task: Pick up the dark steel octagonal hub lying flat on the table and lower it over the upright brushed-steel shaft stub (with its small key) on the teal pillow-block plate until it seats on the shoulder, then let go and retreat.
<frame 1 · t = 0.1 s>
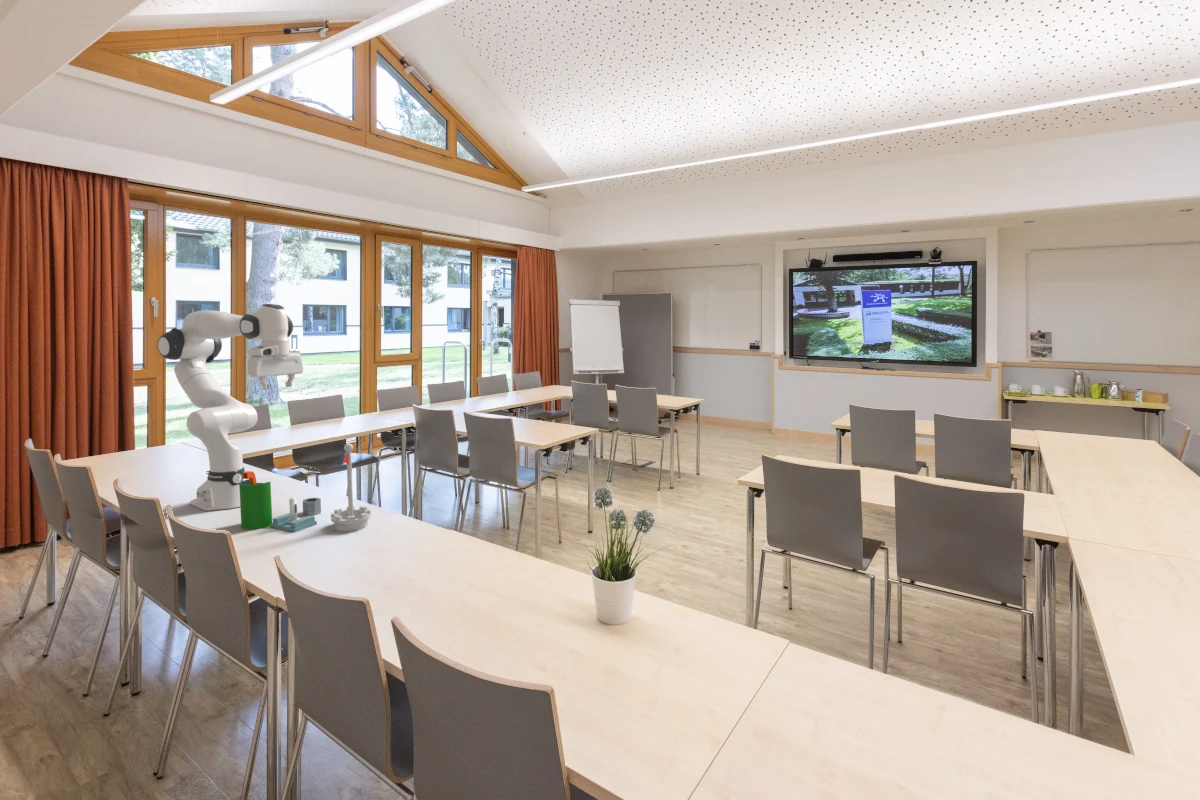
hand: (277, 388, 223), 48 cm above the table, fingers open, 8 cm apart
shaft block: (294, 525, 219), on the table
green cup: (256, 525, 219), on the table
hub: (312, 512, 234), on the table
flag stand: (351, 526, 220), on the table
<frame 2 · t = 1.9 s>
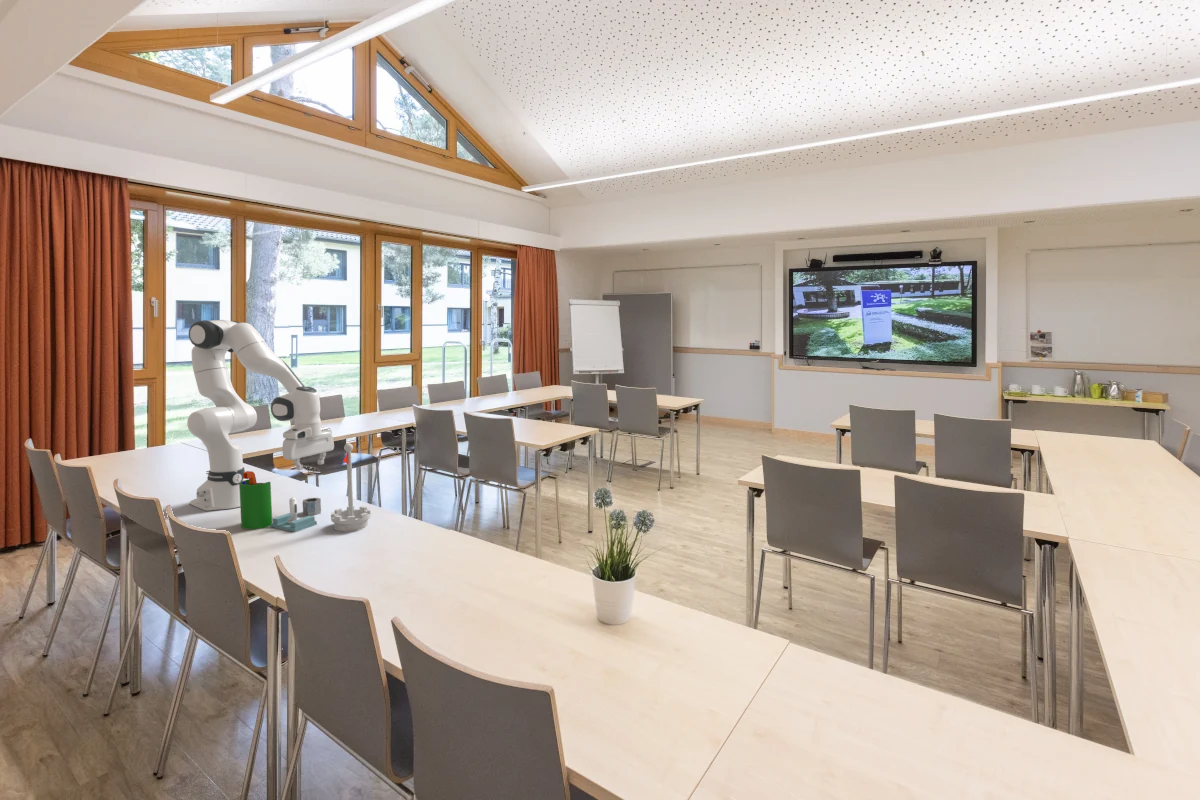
hand: (310, 466, 231), 18 cm above the table, fingers open, 8 cm apart
nothing on the table moved.
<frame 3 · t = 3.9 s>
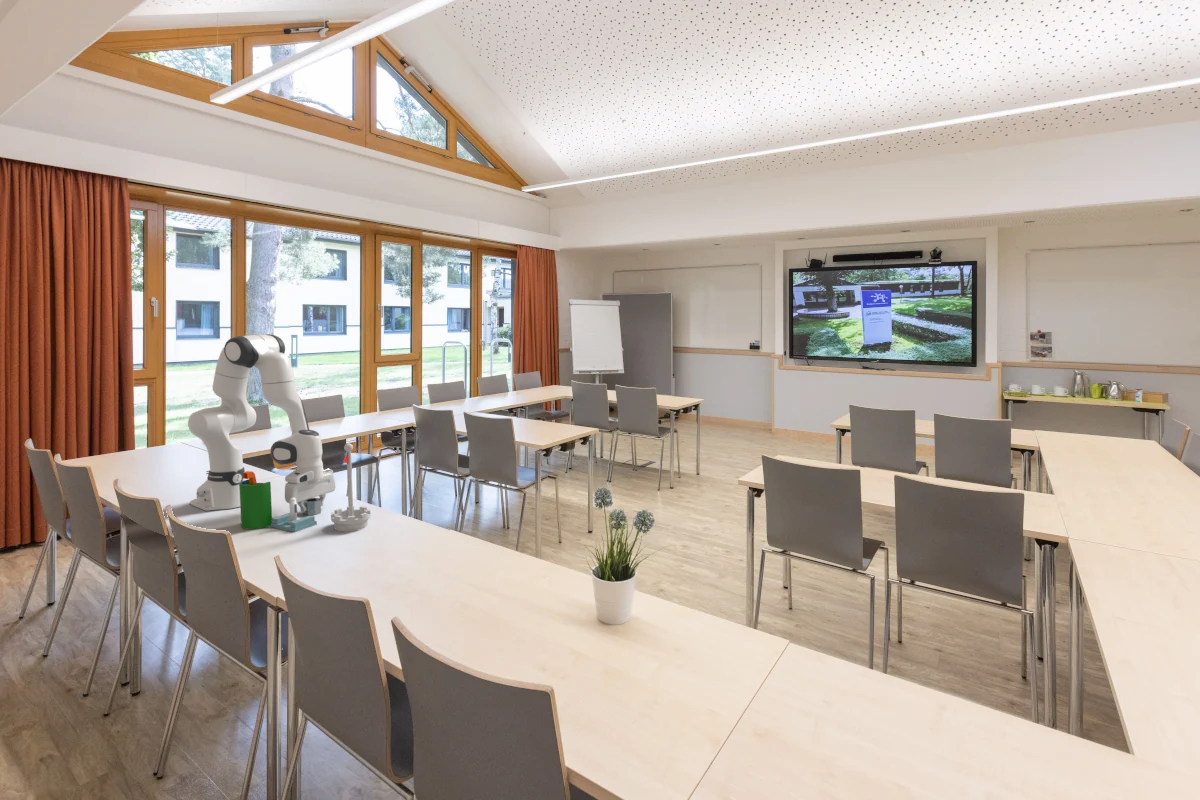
hand: (312, 508, 233), 2 cm above the table, fingers closed on hub, 6 cm apart
hub: (312, 512, 234), on the table, touching gripper
everything else where it was.
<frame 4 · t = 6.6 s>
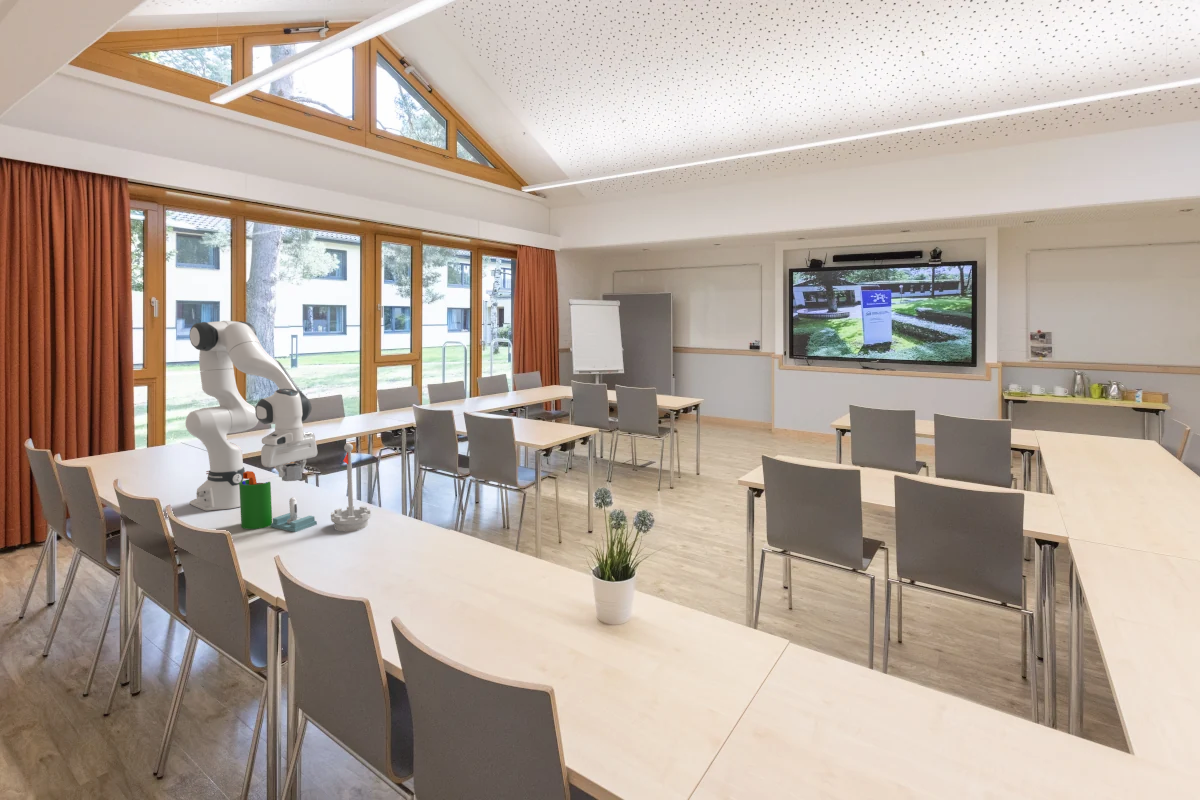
hand: (291, 474, 217), 19 cm above the table, fingers closed on hub, 6 cm apart
hub: (292, 478, 217), point 17 cm above the table, touching gripper
everything else where it was.
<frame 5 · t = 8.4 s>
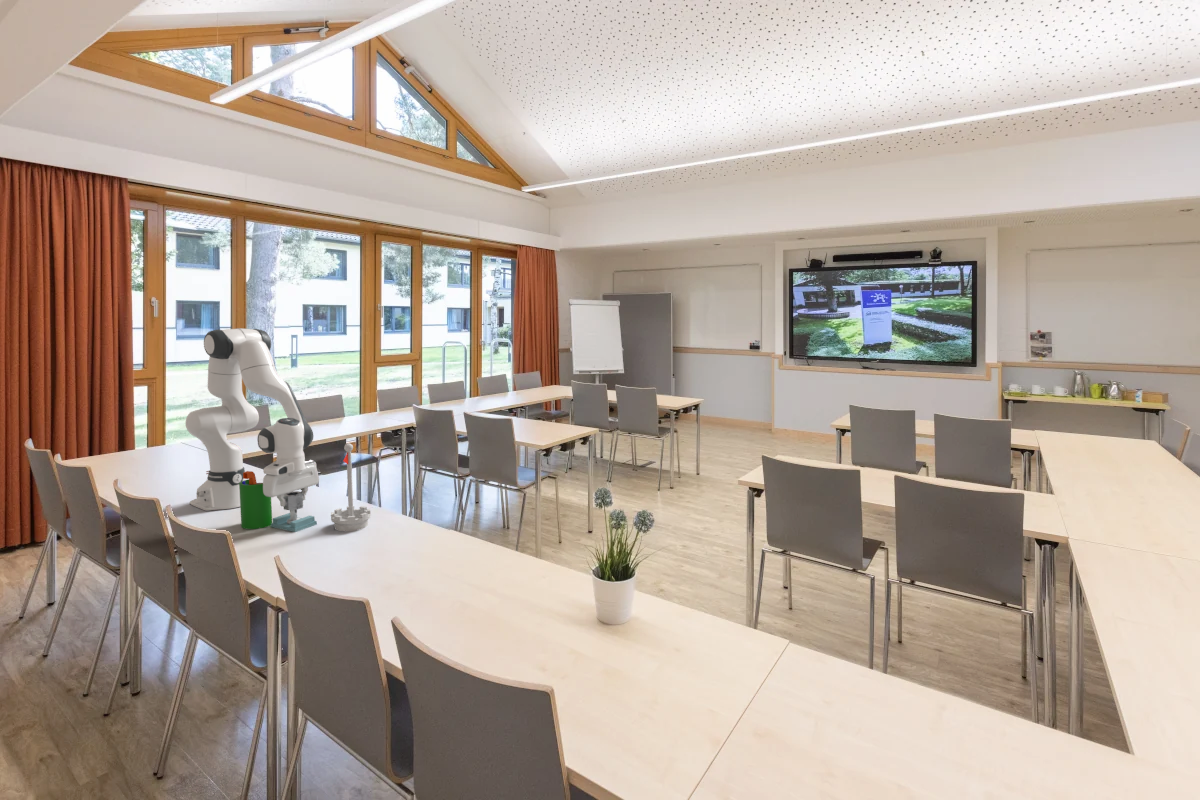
hand: (293, 503, 218), 8 cm above the table, fingers closed on hub, 6 cm apart
hub: (293, 507, 218), point 7 cm above the table, touching gripper
everything else where it was.
when the fingers open (5 cm above the table, at t = 9.6 s): hub drops 1 cm, resting on shaft block.
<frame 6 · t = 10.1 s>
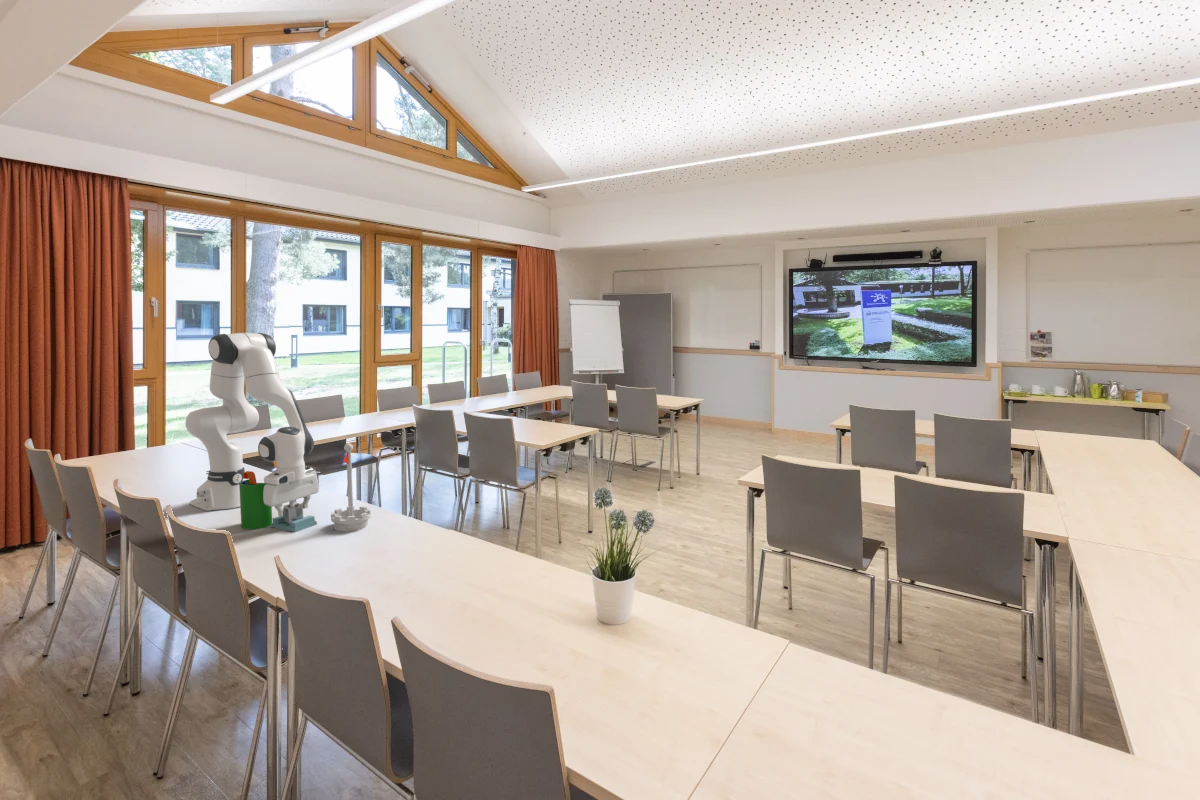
hand: (293, 511, 219), 5 cm above the table, fingers open, 8 cm apart
hub: (293, 519, 219), point 2 cm above the table, touching shaft block
everything else where it was.
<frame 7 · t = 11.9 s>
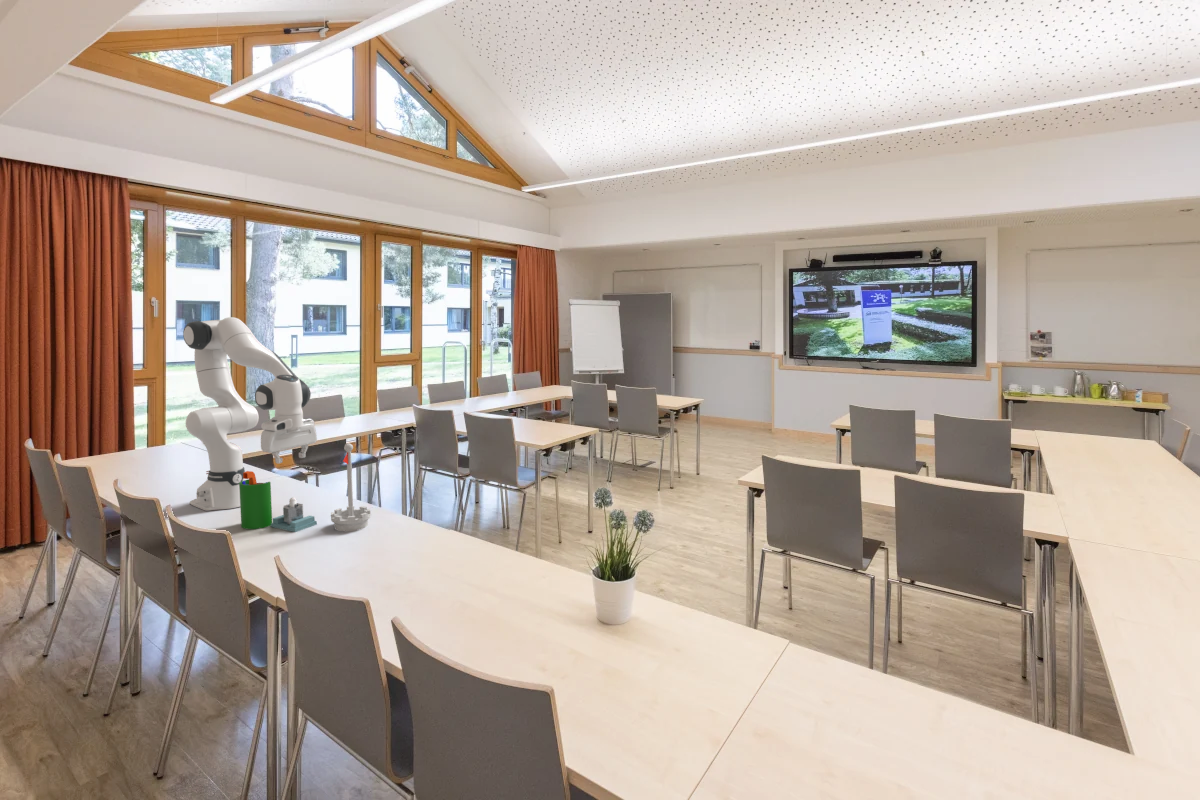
hand: (290, 460, 218), 23 cm above the table, fingers open, 8 cm apart
nothing on the table moved.
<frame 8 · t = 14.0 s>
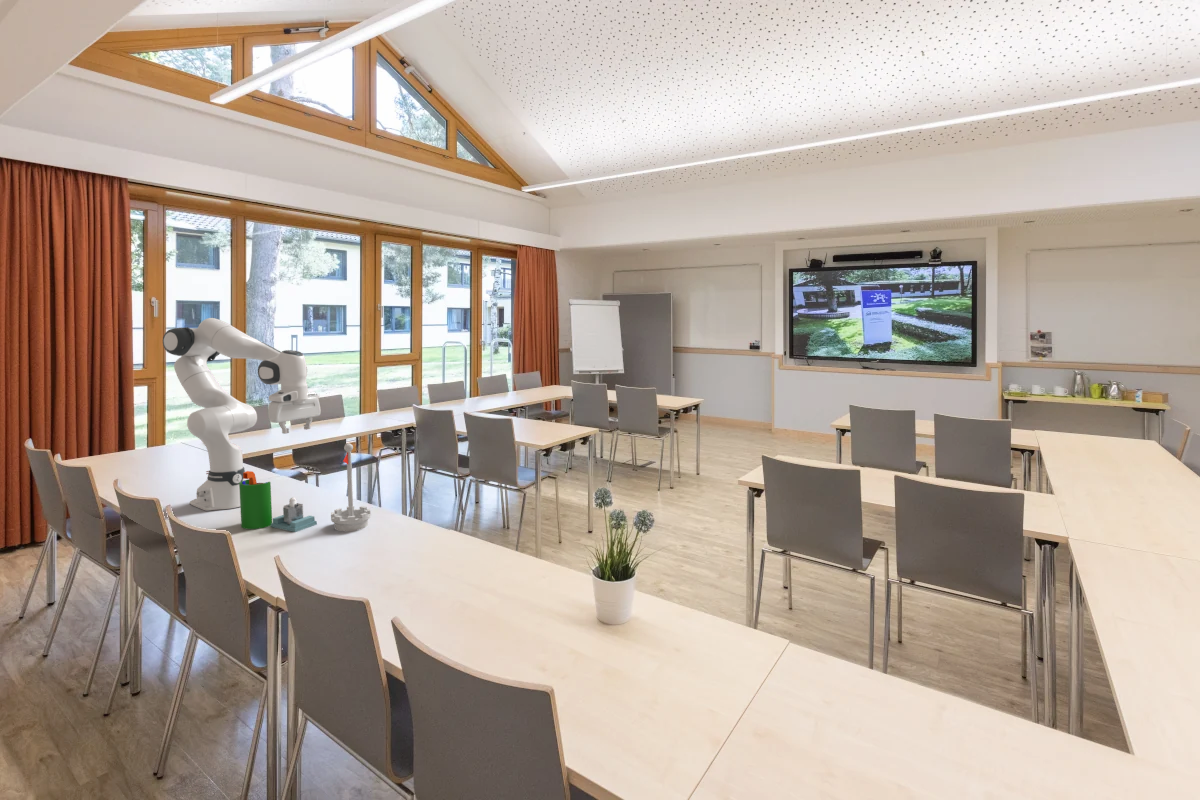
hand: (296, 431, 231), 31 cm above the table, fingers open, 8 cm apart
nothing on the table moved.
at the end: hub 0.1 cm off-centre on the shaft block, point 2.2 cm above the shaft block's base; hub tilted 0°; the gripper is holding nothing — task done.
